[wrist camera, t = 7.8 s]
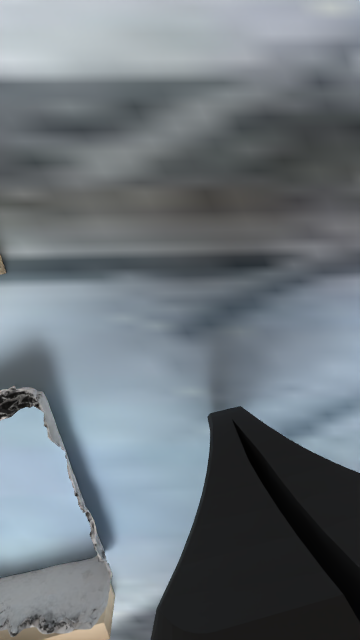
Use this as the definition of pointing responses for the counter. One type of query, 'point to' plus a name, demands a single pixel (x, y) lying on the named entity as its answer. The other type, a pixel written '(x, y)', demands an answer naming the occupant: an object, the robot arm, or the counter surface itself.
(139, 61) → the counter surface
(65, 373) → the counter surface
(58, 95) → the counter surface
